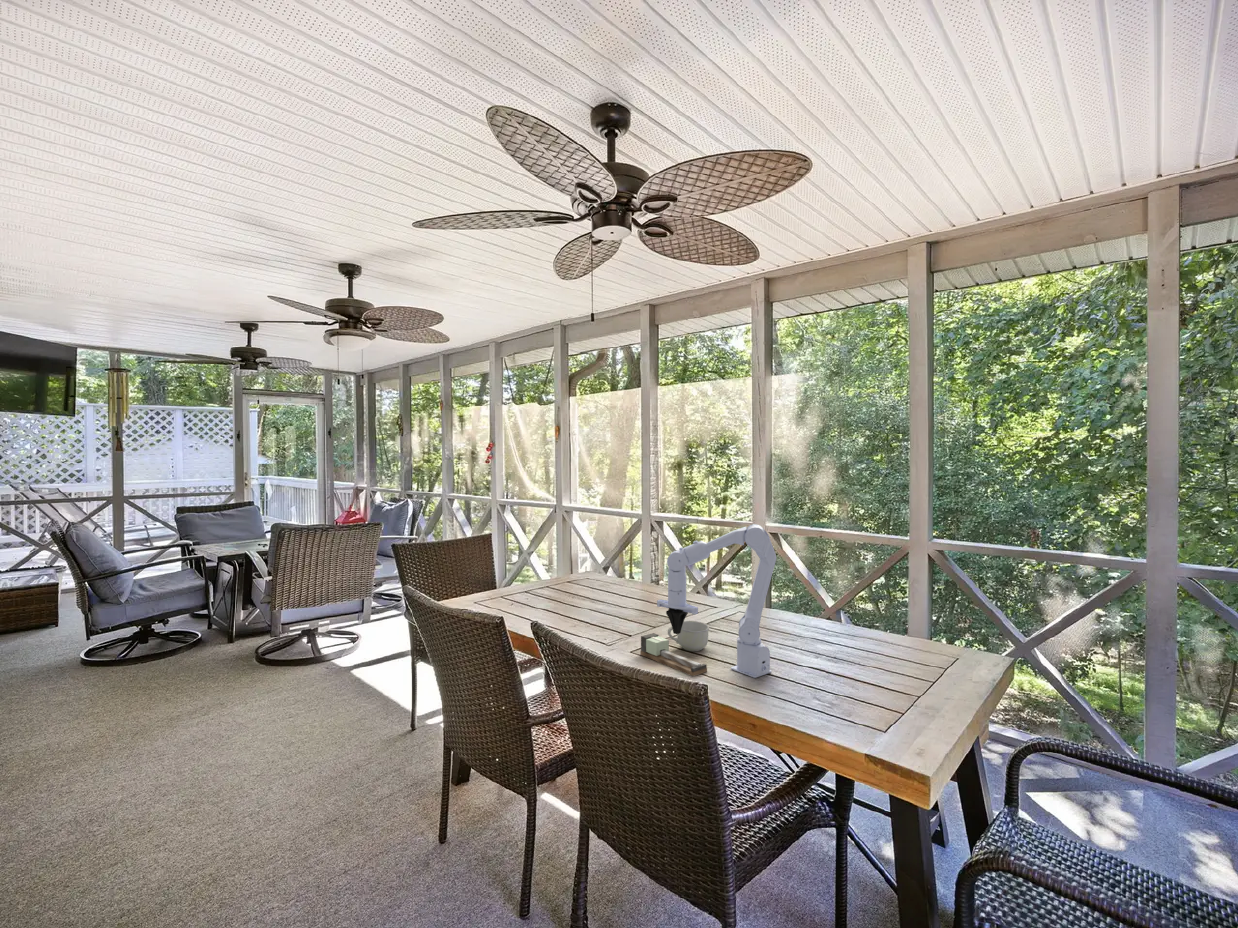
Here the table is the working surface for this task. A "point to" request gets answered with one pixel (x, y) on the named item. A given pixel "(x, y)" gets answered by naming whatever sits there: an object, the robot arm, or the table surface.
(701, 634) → the teacup
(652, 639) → the carriage
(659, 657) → the rail
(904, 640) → the table surface
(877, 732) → the table surface
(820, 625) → the table surface
